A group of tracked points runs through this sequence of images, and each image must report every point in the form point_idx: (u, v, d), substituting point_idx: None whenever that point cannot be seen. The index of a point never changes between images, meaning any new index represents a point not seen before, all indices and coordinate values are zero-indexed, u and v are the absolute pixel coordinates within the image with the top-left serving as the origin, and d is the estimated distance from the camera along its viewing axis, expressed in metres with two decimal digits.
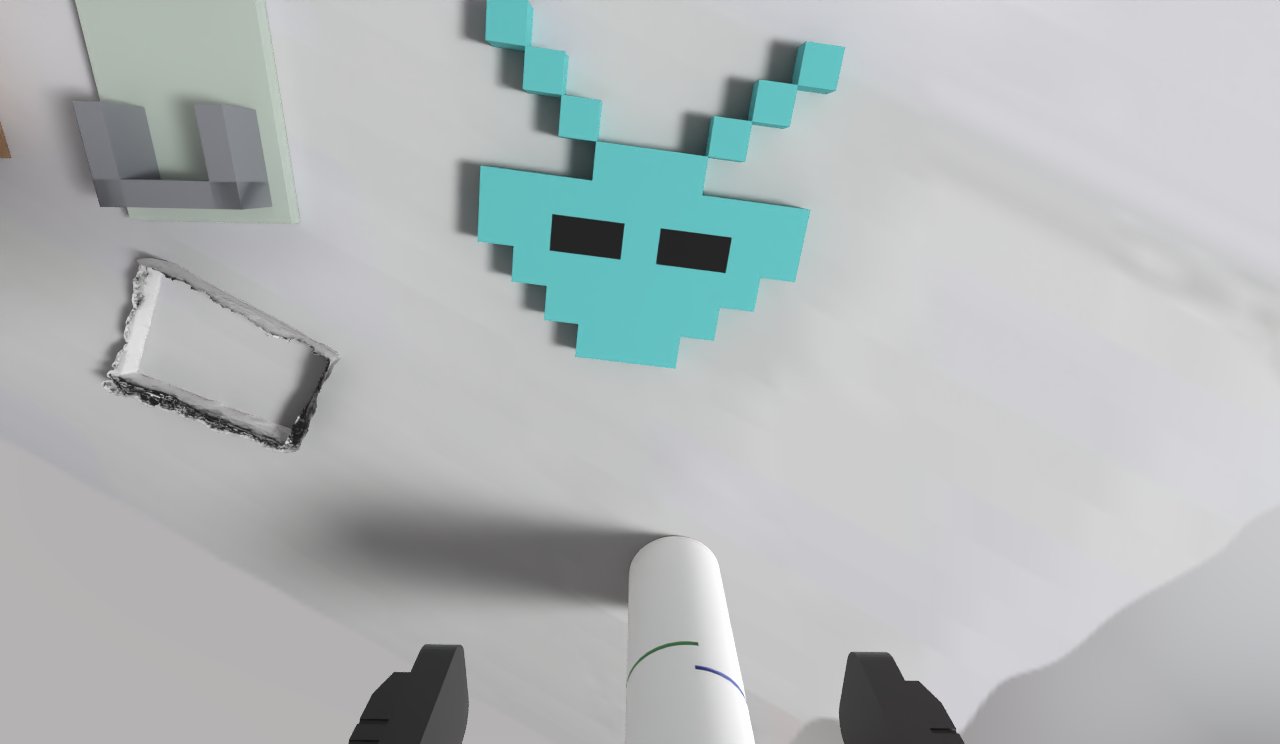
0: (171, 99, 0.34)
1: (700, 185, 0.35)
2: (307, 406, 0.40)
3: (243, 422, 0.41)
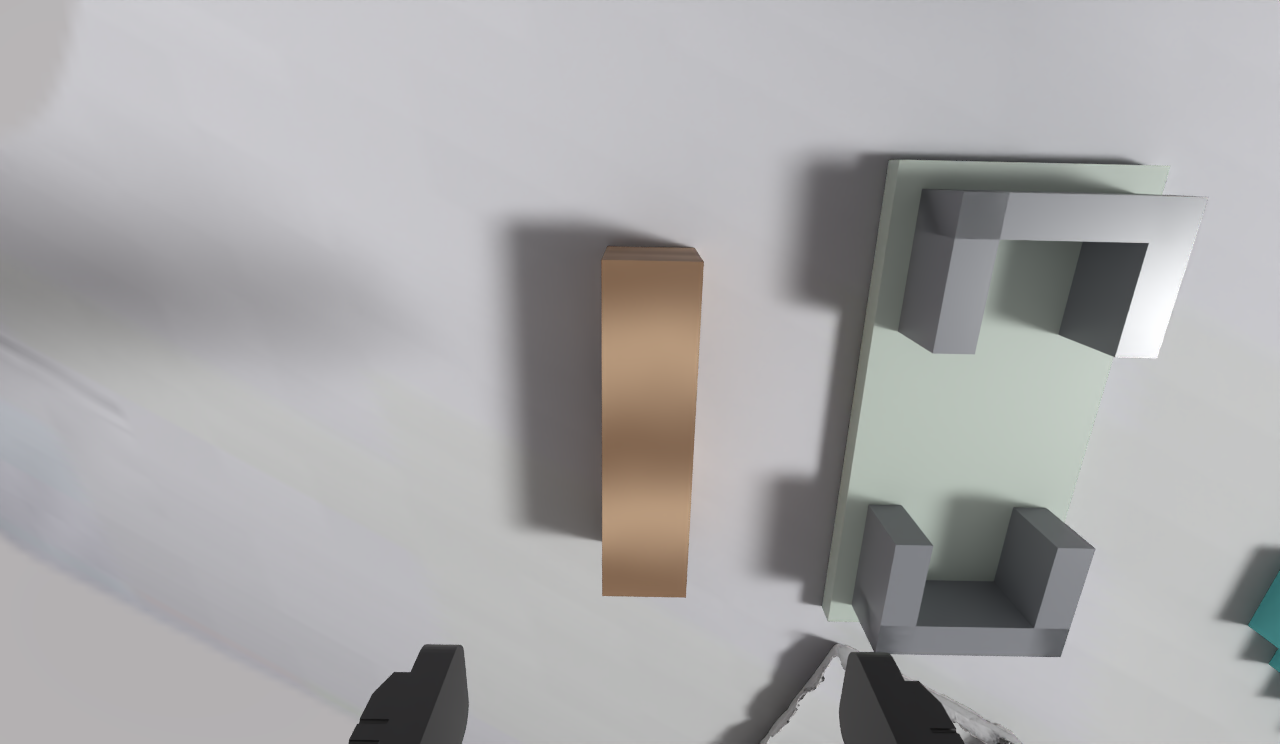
0: (940, 497, 0.26)
1: None
2: None
3: None
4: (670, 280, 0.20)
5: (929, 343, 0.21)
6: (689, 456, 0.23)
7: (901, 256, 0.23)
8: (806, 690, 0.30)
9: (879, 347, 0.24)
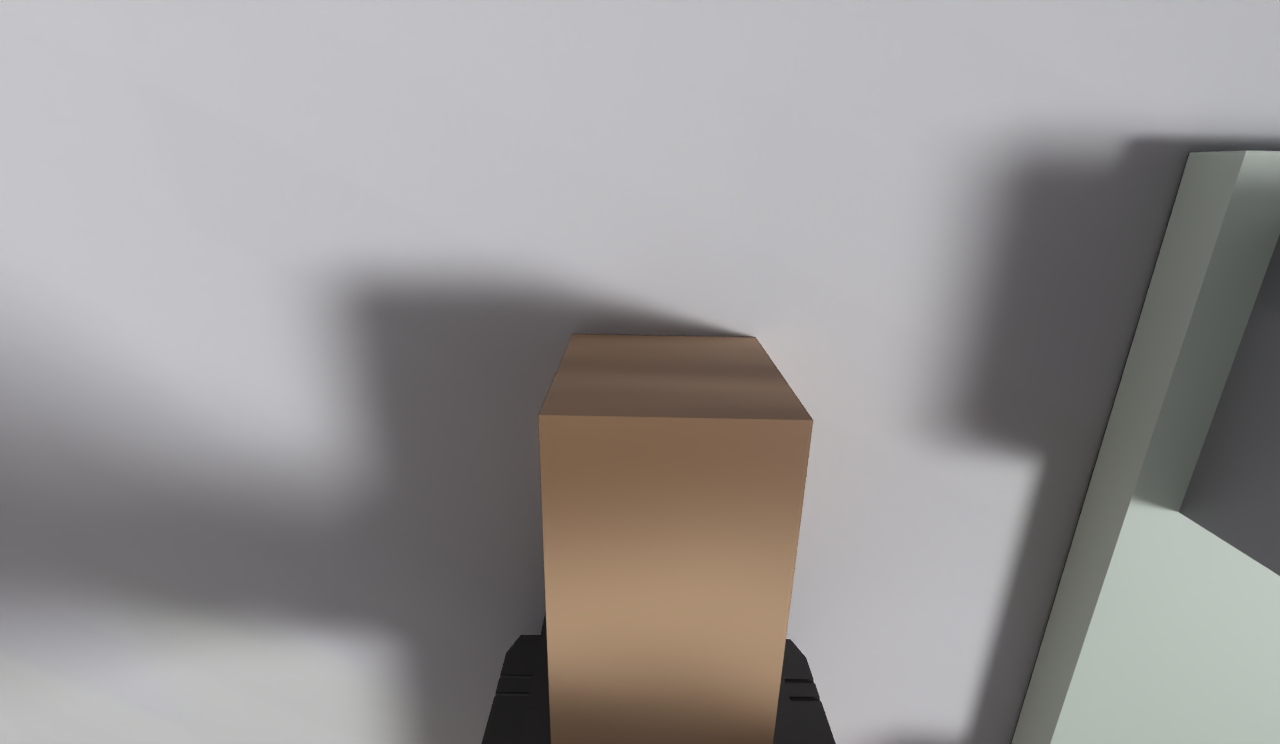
0: None
1: None
2: None
3: None
4: (724, 465, 0.08)
5: None
6: None
7: (1213, 365, 0.10)
8: None
9: (1135, 542, 0.12)
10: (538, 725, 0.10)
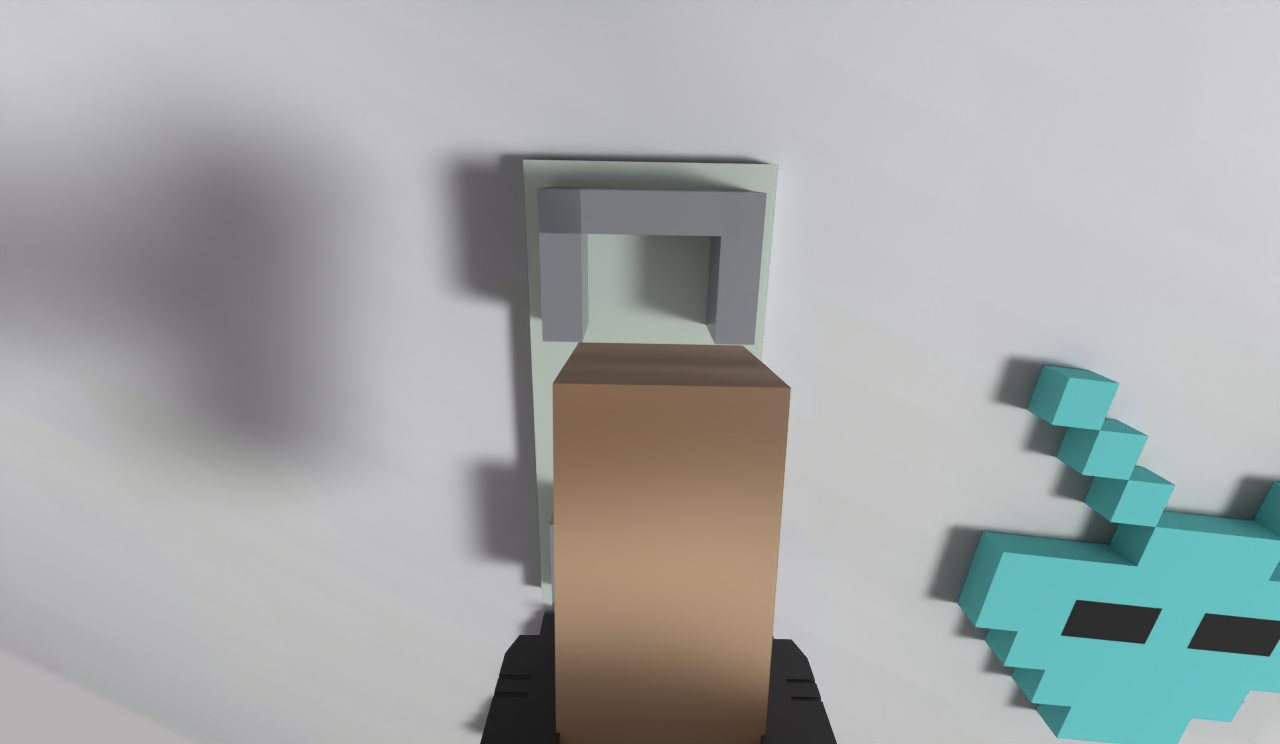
0: None
1: (1269, 570, 0.28)
2: None
3: None
4: (714, 430, 0.09)
5: (543, 332, 0.22)
6: None
7: None
8: None
9: (539, 337, 0.25)
10: (536, 725, 0.10)
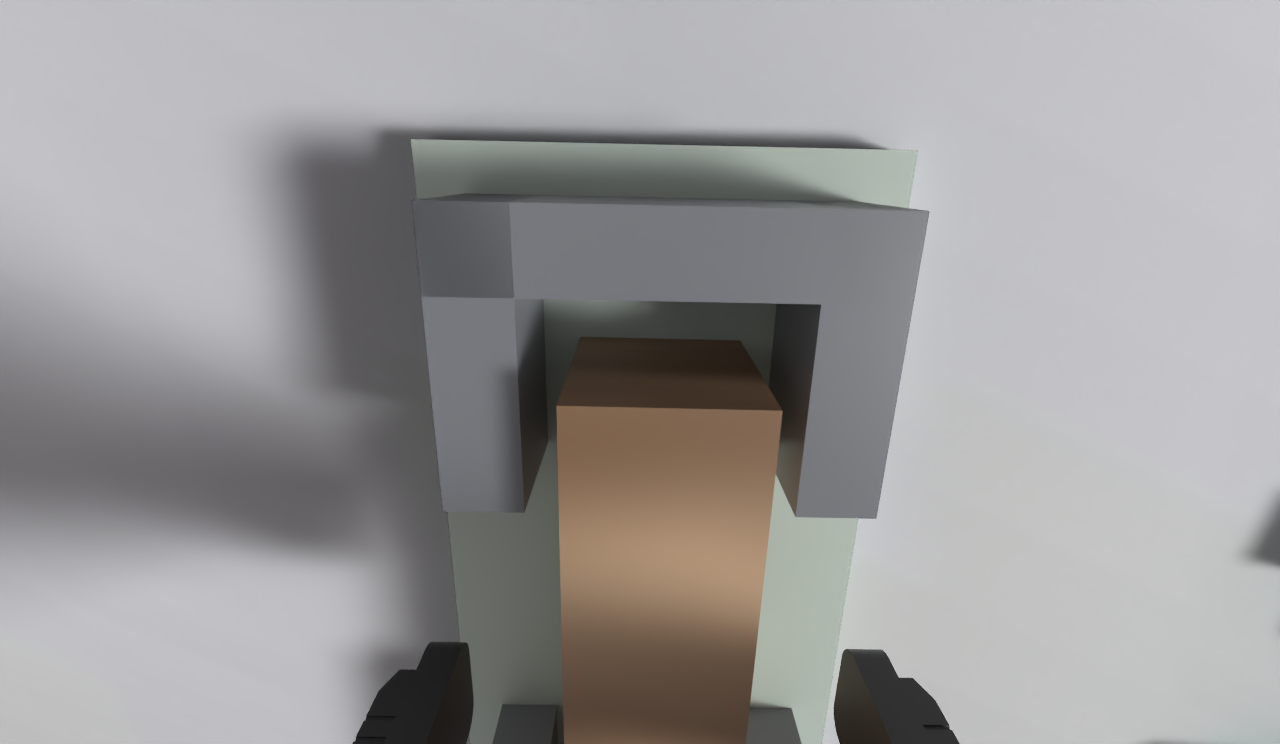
0: None
1: None
2: None
3: None
4: (709, 448, 0.09)
5: (447, 489, 0.11)
6: None
7: None
8: None
9: None
10: None
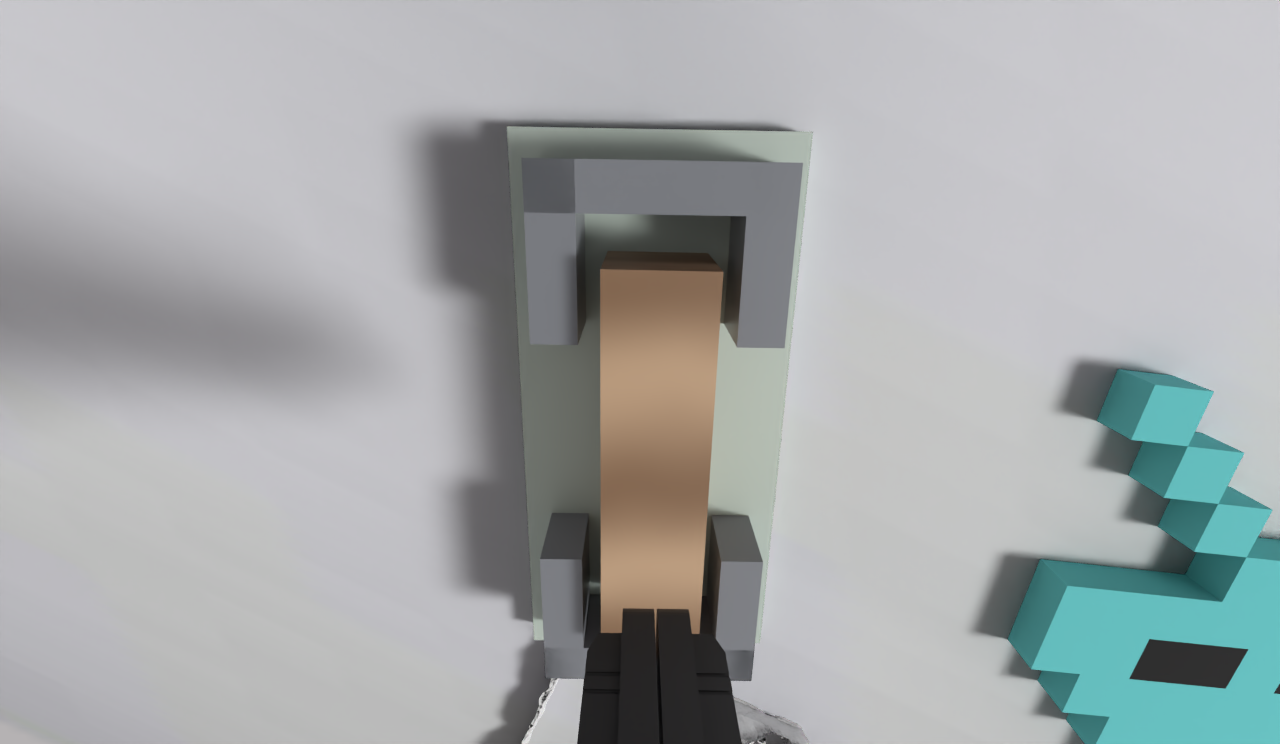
0: None
1: None
2: None
3: None
4: (683, 294, 0.17)
5: (531, 333, 0.19)
6: (703, 500, 0.19)
7: None
8: (546, 690, 0.27)
9: (527, 339, 0.22)
10: (634, 721, 0.10)
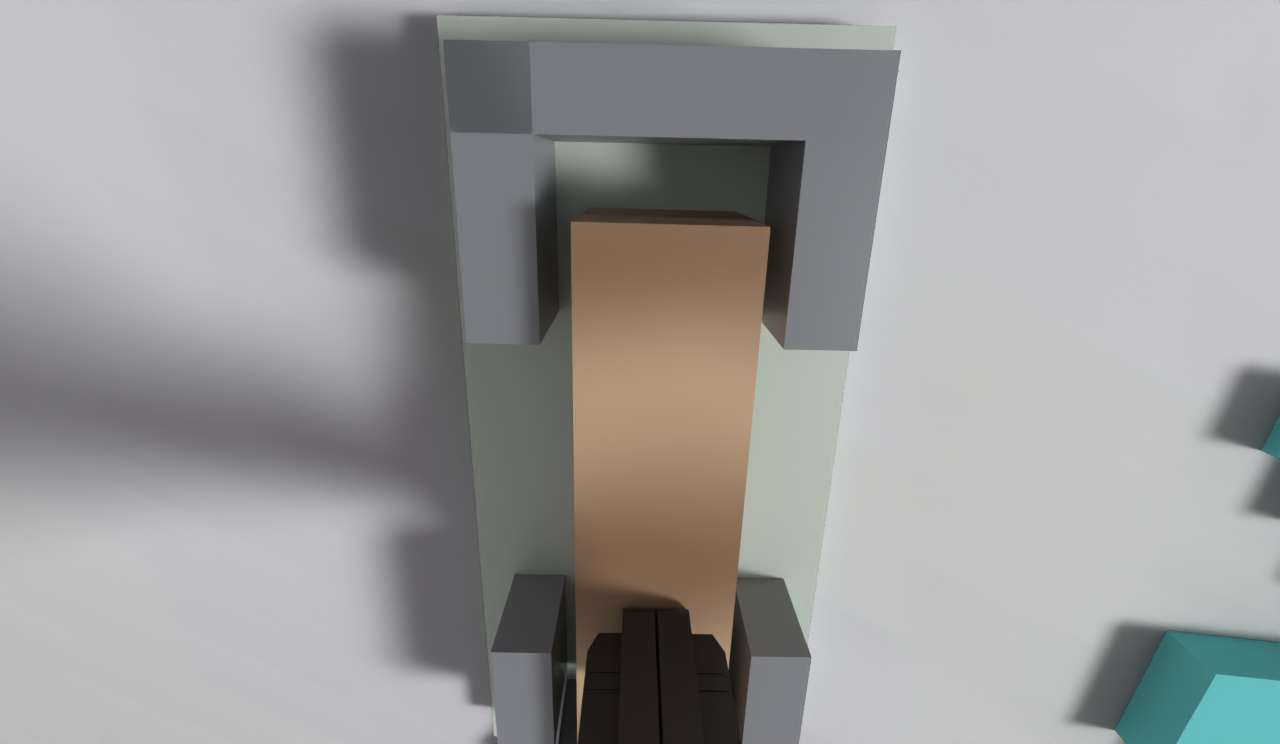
0: None
1: None
2: None
3: None
4: (706, 263, 0.11)
5: (470, 326, 0.12)
6: (730, 578, 0.13)
7: None
8: None
9: None
10: (634, 721, 0.10)
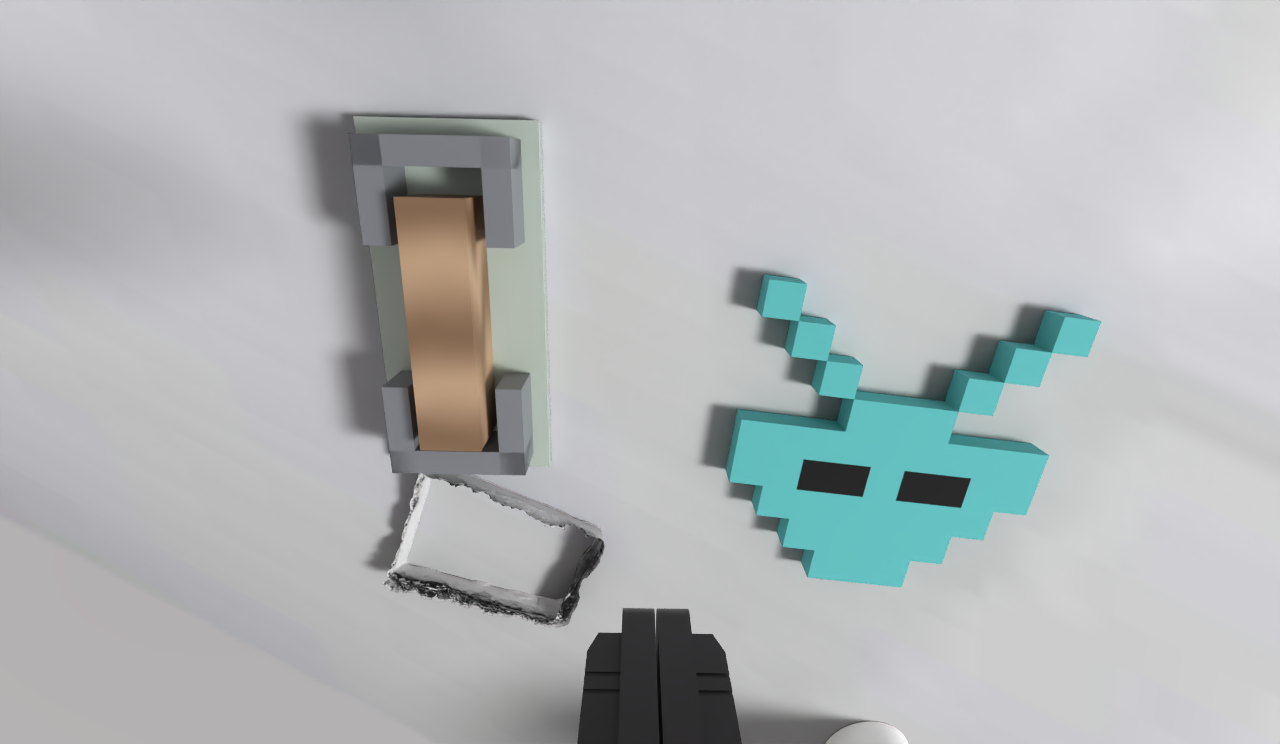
0: None
1: (947, 435, 0.37)
2: (578, 583, 0.41)
3: (510, 601, 0.42)
4: (442, 211, 0.30)
5: (365, 239, 0.31)
6: (470, 341, 0.32)
7: None
8: (415, 498, 0.40)
9: (376, 251, 0.34)
10: (634, 721, 0.10)
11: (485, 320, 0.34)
